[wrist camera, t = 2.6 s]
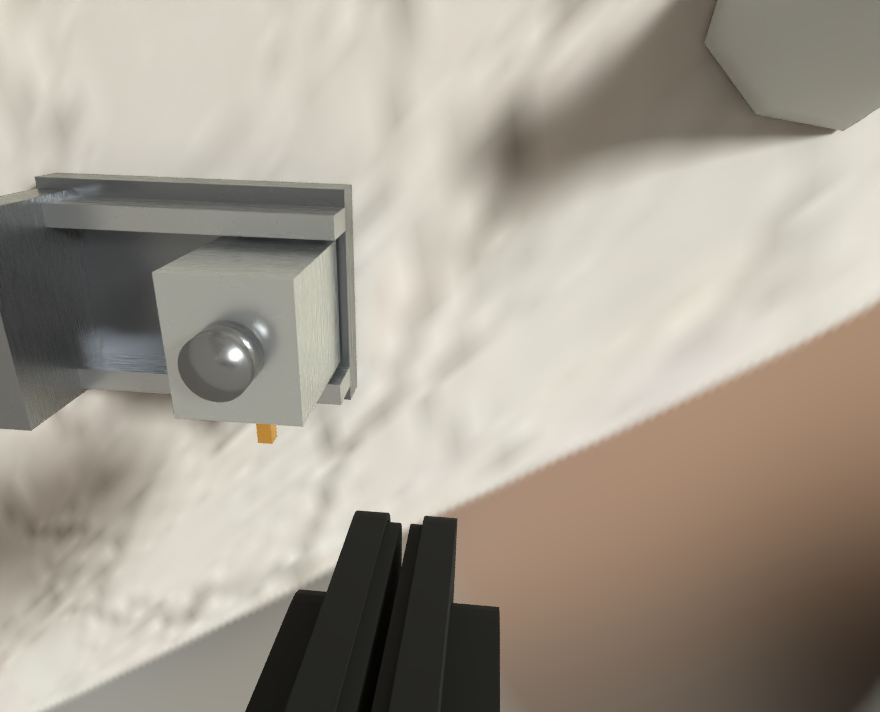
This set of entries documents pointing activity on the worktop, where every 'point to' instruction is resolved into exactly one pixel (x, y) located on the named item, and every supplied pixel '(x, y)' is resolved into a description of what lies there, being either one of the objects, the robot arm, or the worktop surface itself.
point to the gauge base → (134, 276)
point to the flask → (801, 57)
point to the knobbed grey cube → (250, 329)
